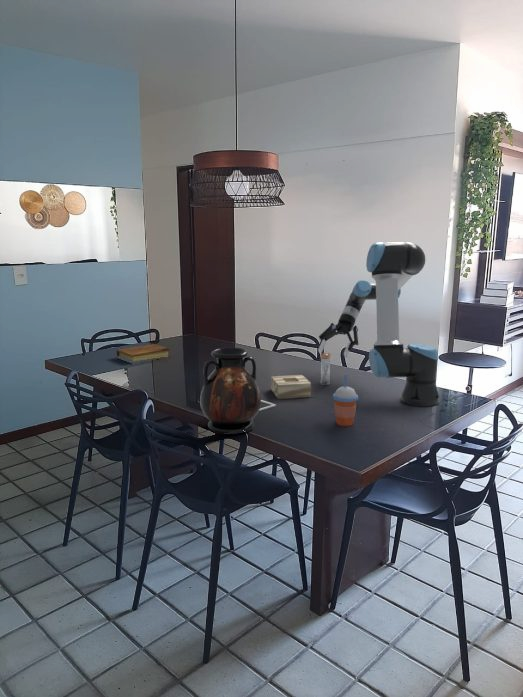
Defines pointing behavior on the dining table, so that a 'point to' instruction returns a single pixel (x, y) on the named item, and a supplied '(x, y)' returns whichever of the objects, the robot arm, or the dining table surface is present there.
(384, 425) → the dining table surface
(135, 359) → the diary
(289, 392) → the socket block
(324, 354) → the peg
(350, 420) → the cup with straw
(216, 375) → the amphora vase
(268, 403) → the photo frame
